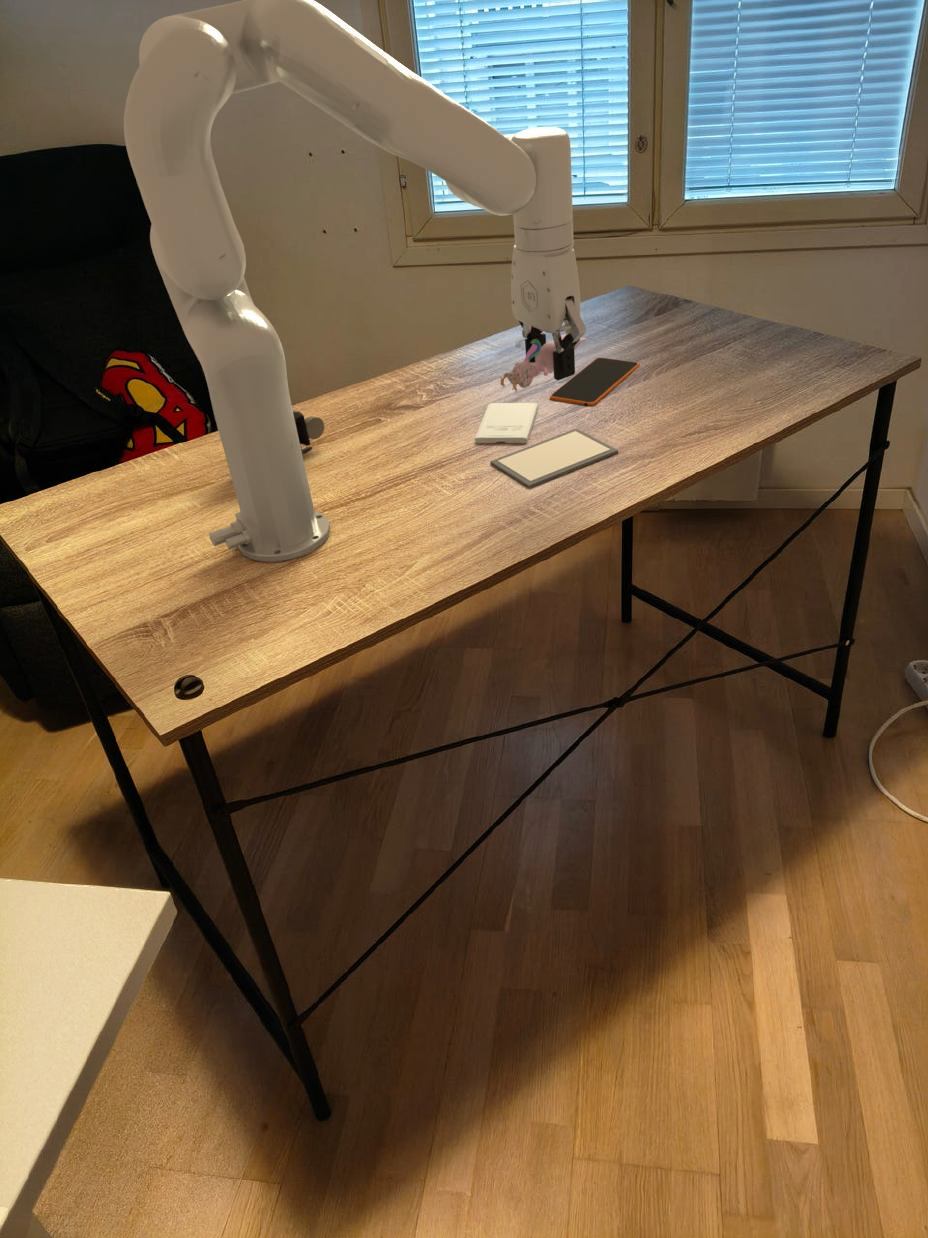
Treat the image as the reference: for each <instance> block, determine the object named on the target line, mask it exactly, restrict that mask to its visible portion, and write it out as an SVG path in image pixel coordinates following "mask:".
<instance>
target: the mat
mask: <svg viewBox="0 0 928 1238" xmlns="http://www.w3.org/2000/svg"><path fill="white" fill-rule="evenodd" d="M615 454H619V449H617V448H615V447H613V446H611V445H609V444H607V443H606V442H603V441H601V440H600V439H598V438H596V437H594V436H592V435H590V434H589V433H587V432H585V431H582V430H581V429H579V428H573V429H571V430H569V431H566V432H564V433H561V434H558V435H556V436H552V437H550V438H548V439H545V440H543V441H539V442H537V443H535V444H532V445H530V446H526V447H524V448H521V449H518V450H516V451H514V452H511V453H509V454H506V455H503V456H501V457H497V458H495V459H492V460H490V461H489V462H490V464H491V466H494V467H495V468H497V469H498V470H500V471H502V472H503V473H505V474H507V475H508V476H510V477H511V478H513V479H514V480H515V481H517V482H518V483H520V484H522V485H523V486H526V487H527V488H529V489H530V488H533V487H535V486H538V485H541V484H543V483H545V482H547V481H550V480H553V479H555V478H558V477H560V476H562V475H565V474H568V473H569V472H573V471H575V470H578V469H580V468H582V467H583V468H584V467H587V465H590V464H593V463H595V462H598V461H600V460H603V459H605V458H607V457H610V456H613V455H615Z"/></svg>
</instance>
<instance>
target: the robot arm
mask: <svg viewBox="0 0 928 1238" xmlns="http://www.w3.org/2000/svg"><path fill="white" fill-rule="evenodd" d="M138 60H139V61H138V62H139V66H138V69H137V70H136V72H135V74H134V75H133V78H132V81H131V83H130V85H129V89H128V93H127V97H126V102H125V106H124V113H123V133H124V135H123V136H124V143H125V147H126V151H127V156H128V159H129V162H130V163H129V164H130V166H131V168H132V171H133V175H134V177H135V179H136V181H135V182H136V184H137V187H138V189H139V192H140V195H141V198H142V201H143V204H144V208H145V209H146V212H147V215H148V217H149V220H150V223H151V225H150V232H149V241H150V247H151V250H152V254H153V256H154V260H155V263H156V266H157V268H158V270H159V273H160V275H161V277H162V280H163V284H164V286H165V288H166V290H167V294H168V295H169V299H170V300H171V304H172V306H173V308H174V310H175V313H176V316H177V318H178V320H179V323H180V325H181V328H182V331H183V333H184V335H185V337H186V339H187V341H188V343H189V345H190V347H191V349H192V350H193V352H194V354H195V356H196V358H197V360H198V361H199V363H200V365H201V367H202V372H203V374H204V376H205V380H206V383H207V388H208V392H209V393H208V394H209V398H210V402H211V407H212V411H213V415H214V420H215V422H216V423H215V424H216V427H217V430H218V434H219V437H220V442H221V444H222V447H223V452H224V456H225V459H226V462H227V465H228V470H229V473H230V477H231V481H232V484H233V489H234V491H235V496H236V501H237V503H238V507H239V510H240V511H237V512H235V513H234V516H235V520H234V521H232V522H230V525H229V526H226V527H223V528H219V529H216V530H213V531H211V532H210V531H209V533H208V536H209V539H210V541H211V543H212V545H213V546H214V547H217V546H220V545H223V544H225V545H226V547H227V549H228V550H231V549H234V548H237V547H238V550H239V552H240V554H242V555H243V556H244V557H247V558H248V559H251V560H254V561H258V562H264V563H265V562H267V563H268V562H270V563H271V562H272V563H274V562H284V561H289V560H293V559H298V558H301V557H302V556H305V555H308V554H310V553H311V552H313V551H315V550H316V549H318V548H319V547H320V546H322V545H323V544H324V543H325V541H327V539H328V537H329V536H330V532H331V528H330V522H329V519H328V517H327V515H324V513H322V512H320V511H318V510H315V507H314V503H313V497H312V495H311V489H310V485H309V480H308V475H307V472H306V471H307V470H306V466H305V462H304V456H303V453H302V452H301V447H302V446H301V447H300V445H301V444H300V442H299V438H298V433H297V429H296V424H295V420H294V415H293V407H292V401H291V396H290V395H291V394H290V389H289V384H288V375H287V363H286V357H285V353H284V348H283V345H282V342H281V339H280V338H279V335H278V332H277V331H276V329H275V328H274V326H273V325H272V323H271V322H270V320H269V319H268V317H266V315H265V314H263V312H262V311H261V310H260V309H259V308H258V307H257V306H256V305H255V303H254V301H253V299H252V296H251V293H250V290H249V286H248V284H247V282H246V279H245V273H246V267H247V262H246V261H247V259H246V257H247V255H246V251H245V245H244V242H243V240H242V238H241V235H240V233H239V231H238V228H237V227H236V223H235V222H234V219H233V218H234V217H233V215H232V212H231V209H230V206H229V204H228V201H227V198H226V195H225V192H224V189H223V187H222V184H221V181H220V180H221V179H220V177H219V172H218V169H217V166H216V162H215V160H214V156H213V150H212V144H211V138H212V137H211V134H212V132H211V131H212V128H213V124H214V121H215V118H216V117H217V114H218V113H219V112H220V110H221V109H222V107H223V106H225V104H226V103H227V101H228V100H229V99H230V97H231V96H232V95H233V94H238V93H242V92H245V91H250V90H254V89H257V88H261V87H264V86H268V85H271V84H275V83H278V82H279V83H281V84H283V85H284V86H286V87H287V88H289V89H290V90H292V91H294V92H295V93H296V94H298V95H300V96H301V97H302V98H303V99H305V100H307V101H308V102H310V103H311V104H313V105H314V106H316V107H317V108H319V109H320V110H322V111H323V112H325V113H326V114H328V115H329V116H331V117H333V118H334V119H335V120H338V121H339V122H340V123H342V124H343V125H344V126H345V127H347V128H349V129H350V130H352V132H355V133H356V134H358V135H359V136H360V137H362V138H363V139H365V140H367V142H370V143H371V144H373V145H375V146H376V147H378V148H380V149H381V150H383V151H386V152H388V153H389V154H392V155H393V156H397V157H399V158H402V159H404V160H406V161H408V162H411V163H413V164H415V165H417V166H419V167H421V168H423V169H424V170H426V171H428V172H430V173H432V174H433V175H435V176H437V177H438V178H440V179H441V180H443V181H444V182H445V185H446V186H447V188H448V189H449V191H450V192H451V193H452V194H453V196H455V197H456V198H458V199H459V200H461V201H463V202H465V203H468V204H469V205H472V206H474V207H476V208H477V207H478V208H480V209H482V210H484V211H486V212H488V213H490V214H492V215H495V216H501V217H502V216H510V215H512V217H513V231H514V232H513V233H514V245H513V249H512V258H511V270H510V271H511V274H510V277H511V279H510V281H511V282H510V283H511V286H510V287H511V289H510V291H511V309H512V315H513V317H514V318H515V319H516V320H517V321H518V322H519V325H520V326H521V328H522V329H521V335H522V338H523V339H524V347H525V356H526V355H527V352H528V351H529V349H530V348H531V346H532V343H531V341H532V340H534V339H538V340H539V341H540V343H541V347H542V346H543V345H544V344H546V343H547V335H546V333H548V334H551V335H552V341H554V344H555V348H556V351H554V352H553V368H554V371H553V378H554V380H556V381H561V380H563V379H566V378H568V377H572V376H575V375H576V363H575V361H576V360H575V350H574V348H576V347H577V343H578V341H579V340H580V338H583V336H584V335H585V333H586V332H587V327H586V325H585V322H584V321H583V320H582V317H581V291H580V290H581V289H580V281H579V273H578V271H579V270H578V264H577V258H576V253H575V249H574V245H575V244H574V242H575V241H574V214H573V213H574V212H573V208H574V207H573V188H572V187H573V183H572V182H573V181H572V178H573V177H572V150H571V148H572V147H571V139H570V136H569V134H568V133H567V131H566V130H564V129H562V128H561V127H554V126H542V127H533V128H532V127H531V128H528V129H524V130H521V131H519V132H516V133H514V134H506V135H505V134H503V133H502V132H500V131H499V130H497V129H496V127H495V128H494V127H493V126H492V125H491V124H489V123H488V122H486V121H485V120H484V119H482V118H481V117H479V116H478V115H477V114H475V113H473V112H472V111H471V110H469V109H468V108H466V107H465V106H463V105H462V104H460V103H459V102H457V101H455V100H454V99H452V98H451V97H449V96H448V95H446V94H444V92H442V91H441V90H439V89H438V88H436V87H435V86H434V85H433V84H431V83H430V82H428V81H427V80H425V79H424V78H422V77H421V76H420V75H418V74H416V73H415V72H413V71H412V70H410V69H409V68H407V67H406V66H404V65H403V64H402V63H400V62H399V61H397V60H396V59H395V58H393V57H392V56H391V55H390V54H388V53H387V52H385V51H384V50H383V49H381V48H379V47H378V46H377V45H375V43H373V42H371V40H369V39H368V38H367V37H365V36H364V35H362V34H361V33H359V32H358V31H357V30H356V29H354V28H353V27H352V26H350V25H349V24H347V23H346V22H345V21H343V19H341V18H339V17H338V16H337V15H336V14H334V13H333V12H332V11H330V10H329V9H327V8H326V7H325V6H323V5H322V4H320V3H318V2H317V1H316V0H238V1H234V2H231V3H226V4H222V5H221V4H220V5H215V6H212V7H206V8H201V9H196V10H192V11H188V12H183V13H176V14H172V15H167V16H165V17H161V18H160V19H157V20H156V21H155V22H153V23H152V24H151V25H150V26H149V27H148V28H147V29H146V31H145V32H144V33H143V36H142V38H141V41H140V44H139V49H138ZM563 323H564V325H563ZM564 331H565V333H566V336H565V337H564V338H563V340H562V338H561V336H562V334H561V332H564ZM543 332H545V333H543ZM577 348H578V347H577ZM577 348H576V349H577ZM530 362H531V363H534V362H536V361H535V357H532V358H531V359H530Z"/></svg>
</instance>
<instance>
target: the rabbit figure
mask: <svg viewBox="0 0 928 1238" xmlns="http://www.w3.org/2000/svg"><path fill="white" fill-rule="evenodd" d="M565 336H566V334H561V338H562V340H563V338H564V337H565ZM584 341H587V338H586V337H581V338H580V340H579V341H578V343H577V347H576V348H574V351H575V350H576V349H577V348H578V347H579V346H580V344H582V343H583V342H584ZM531 343H532V346H531V348H530V349H529V351H528V352H527V355H526V354H525V357H524V360H523V361H520V362H515V363H514V366H513V368H512V369H511V371H509V372H505V373H504V374H503V377H502V376H500V385H499V387H501V386H502V389H504V388H506V385H505V380H506V378H507V380H508V382H509V383H510V384H511V385H512V389H511V390H512V391H513V390H514V391H515V394H517V392H518V389H517V388H518V387H517V385H518V386H519V388H523V389H527V388H528V387H530V386H531V384H532V382H533V380H534V378H536V377H538V376H539V375H541V373H543V375H544V376H546V377H547V376H548V375H549V374H554V368H553V352H554V351H556V348H555V344H554V340H551V341H548V342H547V341H546V344H544V345H543V346H542V347H541V343H540V341H539V340H538V339H534V340H532V341H531ZM532 357H535V361H536V362H534V363H531V362H530V359H531V358H532Z"/></svg>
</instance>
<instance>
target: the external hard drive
mask: <svg viewBox="0 0 928 1238" xmlns="http://www.w3.org/2000/svg"><path fill="white" fill-rule="evenodd" d="M538 410H539V404H538V403H537V402H492V403H491V402H490V403H488V405H487V408H486V410H485V412H484V416H483V417H482V420H481V422H480V425H479V427H478V430H477V432H476V435H475V437H474V443H475V444H498V443H504V444H528V441H529V439H530V435H531V432H532V430H533V425H534V423H535V420H536V416H537V413H538Z"/></svg>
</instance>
